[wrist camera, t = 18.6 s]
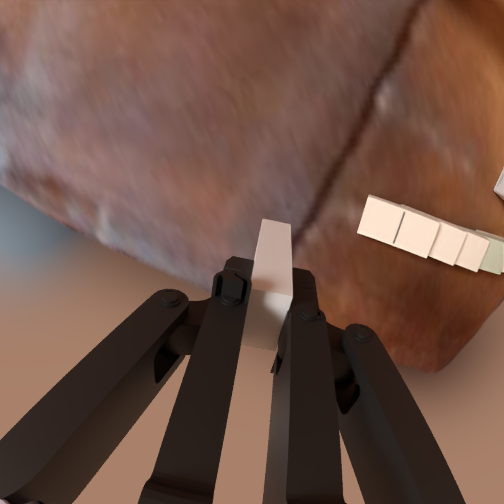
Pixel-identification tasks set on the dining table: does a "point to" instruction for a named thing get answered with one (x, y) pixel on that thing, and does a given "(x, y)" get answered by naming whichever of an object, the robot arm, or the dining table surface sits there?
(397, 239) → the domino
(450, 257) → the domino
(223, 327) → the robot arm
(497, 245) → the sage domino
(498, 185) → the ink box
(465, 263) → the domino
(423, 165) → the dining table surface
